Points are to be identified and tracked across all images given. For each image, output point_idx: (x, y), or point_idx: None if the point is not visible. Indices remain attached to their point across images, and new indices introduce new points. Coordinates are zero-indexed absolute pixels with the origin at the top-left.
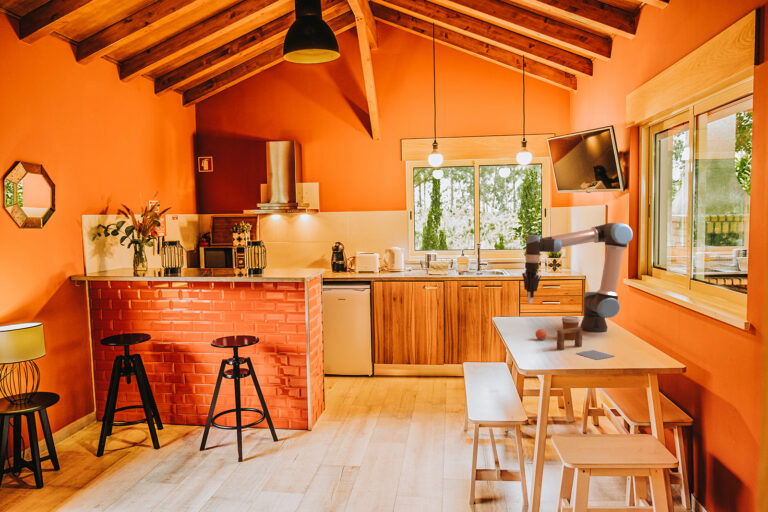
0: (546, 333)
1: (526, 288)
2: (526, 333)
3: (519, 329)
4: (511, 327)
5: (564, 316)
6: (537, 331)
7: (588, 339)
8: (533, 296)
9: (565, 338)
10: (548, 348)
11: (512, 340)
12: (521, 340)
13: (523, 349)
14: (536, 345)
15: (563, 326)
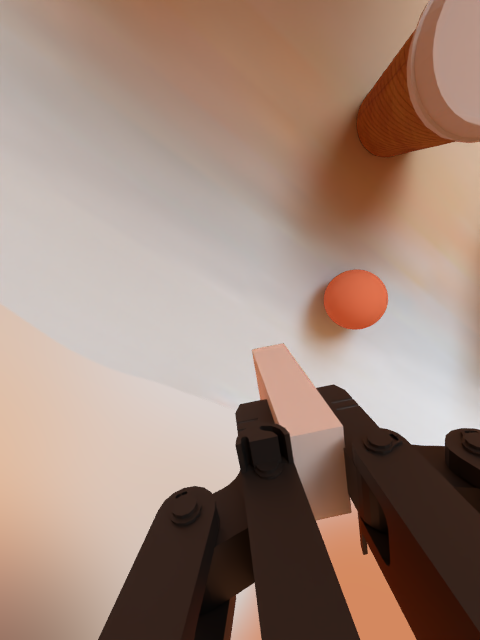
0: (381, 281)
1: (229, 591)
2: (194, 285)
3: (87, 267)
4: (23, 283)
5: (437, 64)
6: (359, 327)
7: None
8: (346, 395)
9: (387, 156)
10: (475, 351)
11: None
12: (316, 384)
13: (438, 445)
14: (414, 370)
15: (419, 142)
